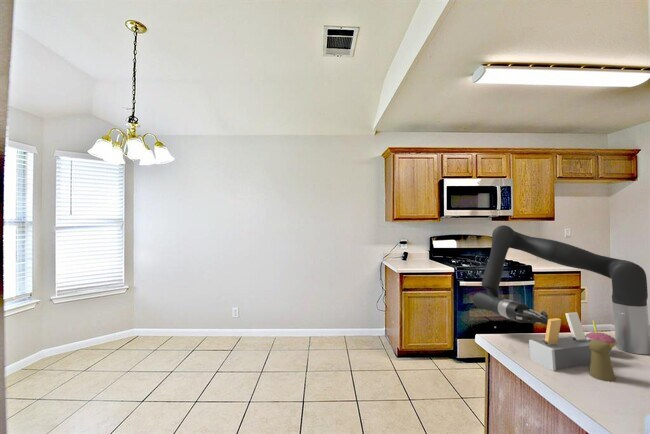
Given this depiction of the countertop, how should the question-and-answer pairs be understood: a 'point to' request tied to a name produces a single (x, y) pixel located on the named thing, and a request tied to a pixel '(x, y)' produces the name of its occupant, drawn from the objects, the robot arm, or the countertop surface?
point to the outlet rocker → (552, 331)
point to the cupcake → (602, 337)
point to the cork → (601, 361)
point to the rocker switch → (575, 326)
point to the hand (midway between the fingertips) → (552, 323)
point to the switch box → (561, 353)
